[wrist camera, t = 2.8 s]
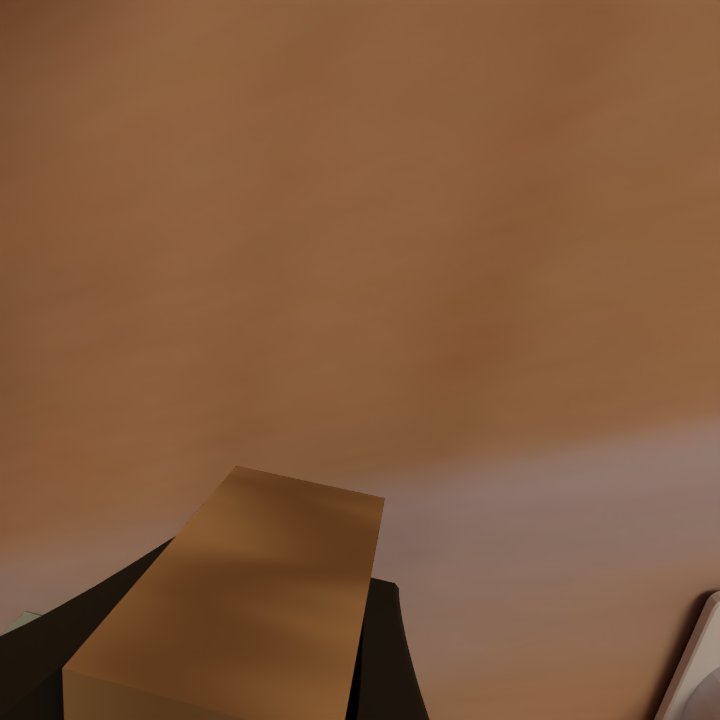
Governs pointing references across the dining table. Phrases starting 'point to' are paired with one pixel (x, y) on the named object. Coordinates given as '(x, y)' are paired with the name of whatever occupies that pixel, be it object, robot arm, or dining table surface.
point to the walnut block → (239, 611)
